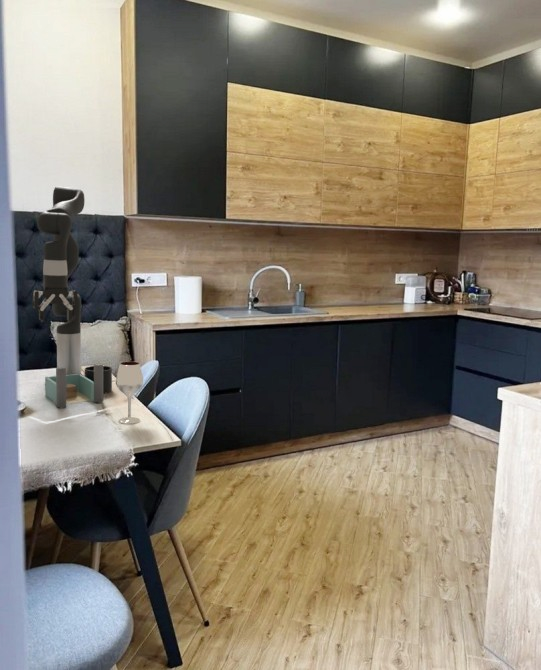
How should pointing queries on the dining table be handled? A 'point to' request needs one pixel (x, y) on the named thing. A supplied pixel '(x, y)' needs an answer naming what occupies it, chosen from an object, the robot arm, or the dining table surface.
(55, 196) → the robot arm
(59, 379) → the flap near
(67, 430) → the dining table surface
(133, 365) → the wineglass
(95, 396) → the flap far
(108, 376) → the mug
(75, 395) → the walnut block
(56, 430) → the dining table surface
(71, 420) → the dining table surface
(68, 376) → the teal open box
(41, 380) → the dining table surface
